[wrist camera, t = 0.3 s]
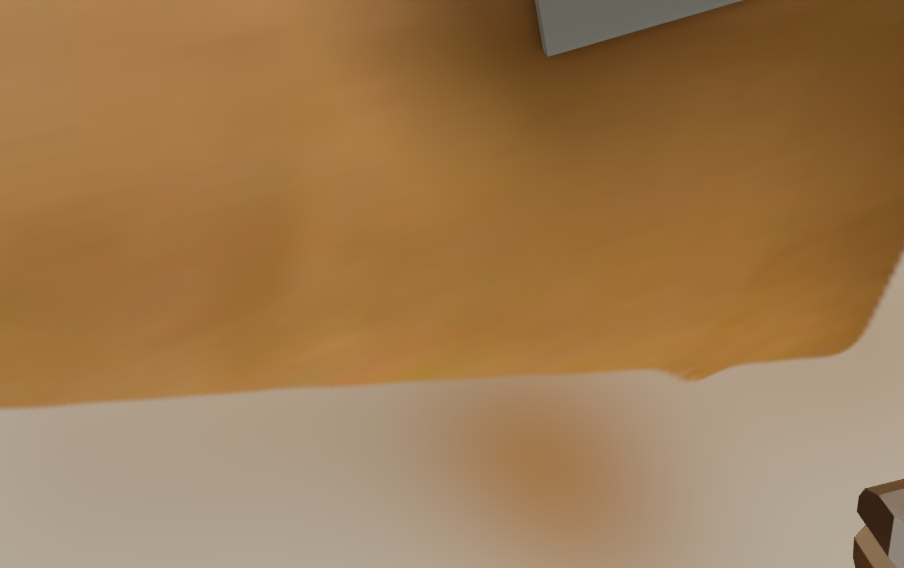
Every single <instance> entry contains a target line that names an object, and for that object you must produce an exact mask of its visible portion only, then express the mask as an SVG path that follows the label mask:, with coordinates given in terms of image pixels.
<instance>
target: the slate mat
mask: <svg viewBox="0 0 904 568" xmlns="http://www.w3.org/2000/svg"><path fill="white" fill-rule="evenodd" d="M739 1H743V0H535V5H536V11H537V17H538V23H539V29H540V35H541V41H542V47H543V51H544V52H545V54H546V55H547V56H548V57H549V56H553V55H556V54H560V53H563V52H567V51H570V50H573V49H577V48H580V47H584V46H587V45H591V44H594V43H598V42H601V41H605V40H608V39H611V38H615V37H618V36H622V35H625V34H629V33H632V32H636V31H639V30H642V29H646V28H649V27H653V26H656V25H660V24H663V23H667V22H670V21H674V20H677V19H680V18H684V17H687V16H691V15H694V14H698V13H701V12H705V11H708V10H712V9H715V8H718V7H722V6H725V5H729V4H732V3H736V2H739Z"/></svg>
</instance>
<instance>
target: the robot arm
mask: <svg viewBox="0 0 904 568" xmlns="http://www.w3.org/2000/svg"><path fill="white" fill-rule="evenodd" d="M857 512H858V514H859V515H860V517H861V518H862V520H863V521H864V523H865V524H866V525H865V526H864V527H863V528H862V530H861V531H860V532H859V533H858V534H857V535H856V536H855V537H854V549H853V559H854V564H855V568H904V479H902V480H898V481H894V482H890V483H886V484H882V485H878V486H874V487H870V488H865V489H864V490H863V492H862V493H861V494H860V495H859V500H858V507H857Z"/></svg>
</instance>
